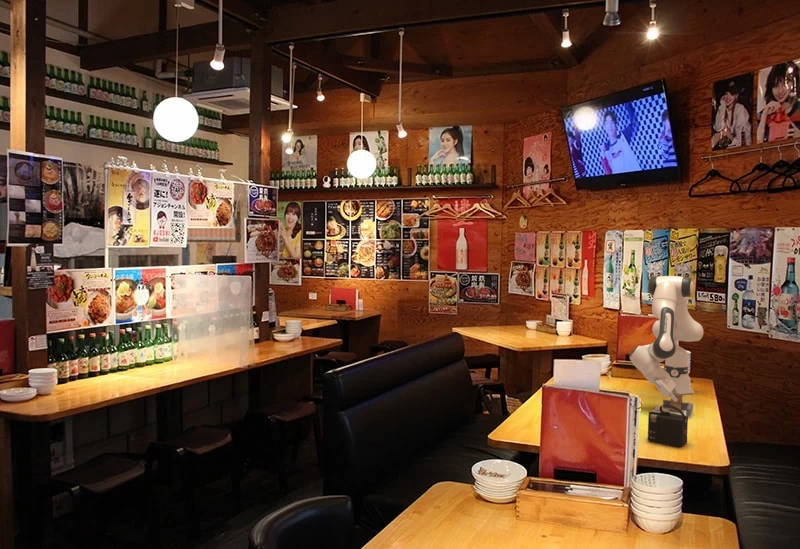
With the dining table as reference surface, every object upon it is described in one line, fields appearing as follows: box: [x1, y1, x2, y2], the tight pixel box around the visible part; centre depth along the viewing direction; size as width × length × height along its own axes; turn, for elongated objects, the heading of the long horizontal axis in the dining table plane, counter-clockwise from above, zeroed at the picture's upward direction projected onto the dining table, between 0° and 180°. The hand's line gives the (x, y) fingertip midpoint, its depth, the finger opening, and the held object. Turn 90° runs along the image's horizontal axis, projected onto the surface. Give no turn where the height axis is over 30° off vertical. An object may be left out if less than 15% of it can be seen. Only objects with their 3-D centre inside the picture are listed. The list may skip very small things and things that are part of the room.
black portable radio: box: [647, 404, 689, 448], centre depth 258 cm, size 11×14×15 cm
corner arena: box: [654, 399, 694, 420], centre depth 303 cm, size 12×16×4 cm
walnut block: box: [670, 393, 684, 412], centre depth 302 cm, size 4×4×8 cm
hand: (678, 398), depth 302 cm, fingers open, 8 cm apart
